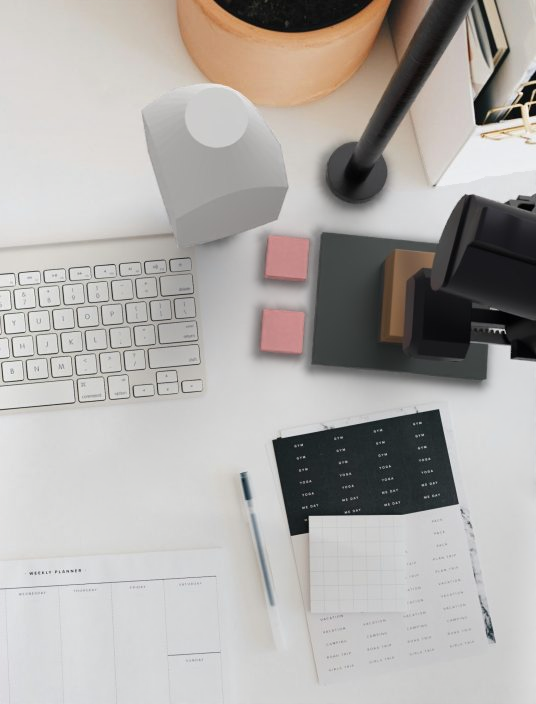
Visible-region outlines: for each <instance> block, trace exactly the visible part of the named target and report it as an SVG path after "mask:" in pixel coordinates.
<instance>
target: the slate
mask: <svg viewBox="0 0 536 704" xmlns="http://www.w3.org/2000/svg"><path fill="white" fill-rule="evenodd" d="M319 238H320V240H319V254H318V265H317V266H318V267H317V281H316V295H315V307H314V320H313V321H314V323H313V332H312V333H313V334H312V335H313V336H312V349H311V361H310V364H311V365H313V366H324V367H332V368H333V367H334V368H344V369H355V370H356V369H357V370H367V371H376V372H377V371H378V372H387V373H388V372H390V373H400V374H409V375H410V374H411V375H421V376H431V377H433V376H434V377H443V378H453V379H455V378H456V379H465V380H467V379H468V380H477V381H484V380H487V377H488V356H489V344H482V343H471V342H470V346H469V349H468V352H467V354H466V357H465V359H464V360H461V361H458V362H457V363H456V362H445V361H434V360H423V359H412V358H409V357H408V356H407V355H406V353H405V352H404V351H403V350H402V349H403V346H398V345H387V344H377V343H376V342H377V327H378V311H379V295H380V279H381V264H382V262H383V261H384V260H385V259H386V258H387V257H388V256H389V255H390V254H391V253H392V252H393V251H394V250H395V249H400V250H410V251H420V252H431V253H435V252H436V249H437V246H438V243H439V242H426V241H417V240H405V239H397V238H389V237H388V238H387V237H376V236H367V235H356V234H345V233H336V232H326V231H322V232H321V234H320V237H319ZM472 308H481V309H491V308H490V307H487V306H483V305H480V304H477V303H473V302H472ZM471 328H472V331H473V329H474V328H477V330H478V331H479V329H481V328H482V329H483V332H484V330H485V329H488V331H489V332H490V330H489V329H490V328H484V327H474V326H471Z"/></svg>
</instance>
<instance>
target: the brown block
mask: <svg viewBox="0 0 536 704" xmlns="http://www.w3.org/2000/svg"><path fill="white" fill-rule="evenodd" d="M434 256H435V253H431V252H420V251H410V250H400V249H395V250H394V251H393V252H392V253H391V254H390V255H389V256H388V257H387V258H386V259H385V260H384V261H383V262H382V264H381V279H380V295H379V311H378V327H377V342H376V343H377V344H387V345H398V346H403V332H404V315H405V298H406V282H407V280H408V279H409V278H410V277H412V276H413V275H414V274H415V273H416V272H417V271H419V270H420V269H421V268H432V265H433V260H434Z"/></svg>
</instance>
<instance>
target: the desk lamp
mask: <svg viewBox="0 0 536 704" xmlns="http://www.w3.org/2000/svg"><path fill="white" fill-rule="evenodd" d="M476 1H477V0H430V2H429V4H428V6H427V8H426V10H425V12H424V14H423V16H422V18H421V20H420V22H419V24H418V26H417V27H416V29H415V31H414V33H413V35H412V37H411V39H410V41H409V43H408V45H407V47H406V49H405V51H404V53H403V55H402V57H400V61H399V62H398V64H397V67H396V68H395V70H394V72H393V74H392V75H391V78H390V80H389V82H388V84H387V86H386V87H385V90H384V91H383V93H382V95H381V97H380V99H379V101H378V103H377V105H376V107H375V109H374V111H373V112H372V114H371V117H370V119H369V120H368V123H367V125H366V127H365V128H364V131H363V133H362V134H361V136H360V138H359V140H358V141H350V142H346V143H344V144H341V145H340V146H338V147H337V148H336V149H335V150H334V151H333V152H332V153H331V155H330V156H329V159H328V162H327V164H326V166H325V173H324V174H325V175H324V176H325V181H326V184H327V187H328V189H329V190H330V191H331V193H332V194H333V195H334V196H335V197H336V198H338V199H339V200H341V201H343V202H345V203H347V204H354V205H356V204H357V205H358V204H364V203H367V202H370V201H372V200H373V199H375V198H376V197H377V196H378V195H379V193H380V192H381V191H382V190H383V188H384V186H385V184H386V181H387V178H388V166H387V162H386V160H385V158H384V156H383V153H384V152H385V150H386V148H387V147H388V145H389V143H390V141H391V140H392V139H393V137H394V135H395V133H396V132H397V131H398V128H400V126H401V123H402V122H403V120H404V119H405V118H406V115H407V114H408V112H409V110H410V109H411V107H412V106H413V104H414V102H416V99H417V97H418V96H419V94H420V93H421V91H422V89H423V88H424V86H425V84H426V83H427V81H428V79H430V76H431V75H432V73H433V71H434V70H435V68H436V66H437V65H438V63H439V61H440V60H441V58H442V57H443V55H444V53H445V52H446V50H447V49H448V48H449V45H450V44H451V42H452V40H453V39H454V36H456V34H457V32H458V30H459V29H460V27H461V26H462V25H463V23H464V20H465V19H466V17H467V16H468V14H469V13H470V11H471V9H472V7H473V6H474V4H475V3H476Z"/></svg>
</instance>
